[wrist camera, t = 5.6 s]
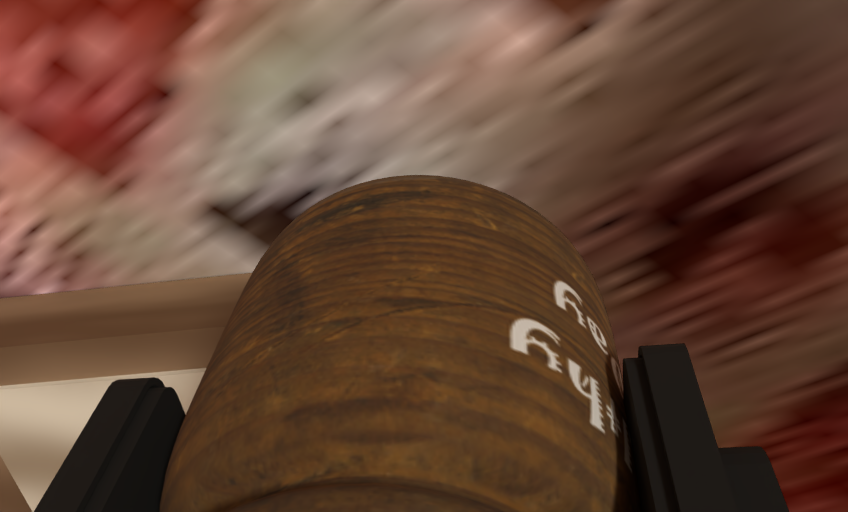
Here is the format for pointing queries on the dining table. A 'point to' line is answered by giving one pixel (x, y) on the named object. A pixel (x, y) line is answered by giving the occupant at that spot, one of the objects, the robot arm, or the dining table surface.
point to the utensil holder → (411, 367)
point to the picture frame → (95, 363)
